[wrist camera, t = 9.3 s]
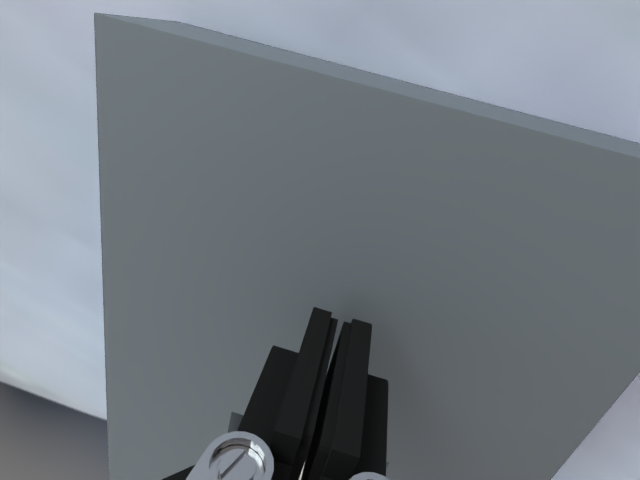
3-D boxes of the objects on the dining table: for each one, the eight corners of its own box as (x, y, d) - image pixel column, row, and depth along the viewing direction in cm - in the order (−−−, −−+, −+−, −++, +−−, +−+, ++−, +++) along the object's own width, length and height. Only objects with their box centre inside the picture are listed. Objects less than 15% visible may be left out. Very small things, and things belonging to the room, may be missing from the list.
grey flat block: (177, 21, 13) (94, 12, 10) (673, 152, 12) (784, 197, 9) (154, 444, 23) (110, 515, 20) (424, 533, 22) (428, 626, 19)
